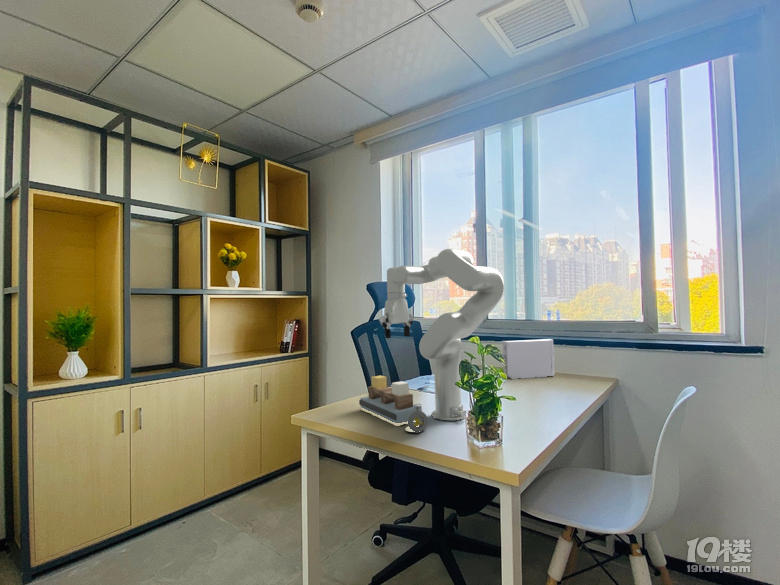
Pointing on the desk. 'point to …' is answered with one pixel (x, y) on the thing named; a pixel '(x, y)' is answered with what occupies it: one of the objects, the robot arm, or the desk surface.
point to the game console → (528, 358)
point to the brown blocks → (391, 397)
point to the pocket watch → (417, 420)
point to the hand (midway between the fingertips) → (397, 337)
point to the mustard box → (378, 382)
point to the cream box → (400, 388)
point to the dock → (387, 409)
